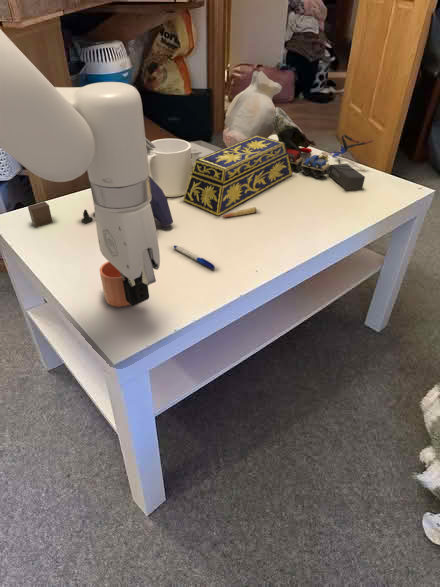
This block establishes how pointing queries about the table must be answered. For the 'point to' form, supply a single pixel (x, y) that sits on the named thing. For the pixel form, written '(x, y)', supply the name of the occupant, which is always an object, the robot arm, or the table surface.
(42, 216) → the stop block
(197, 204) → the decorative box
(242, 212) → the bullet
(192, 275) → the table surface
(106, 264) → the cup
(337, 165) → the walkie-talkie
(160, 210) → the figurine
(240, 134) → the crumpled bag
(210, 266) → the ballpoint pen
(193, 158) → the skate ramp
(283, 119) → the rock
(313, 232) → the table surface
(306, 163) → the toy train
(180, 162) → the mug
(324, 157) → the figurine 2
